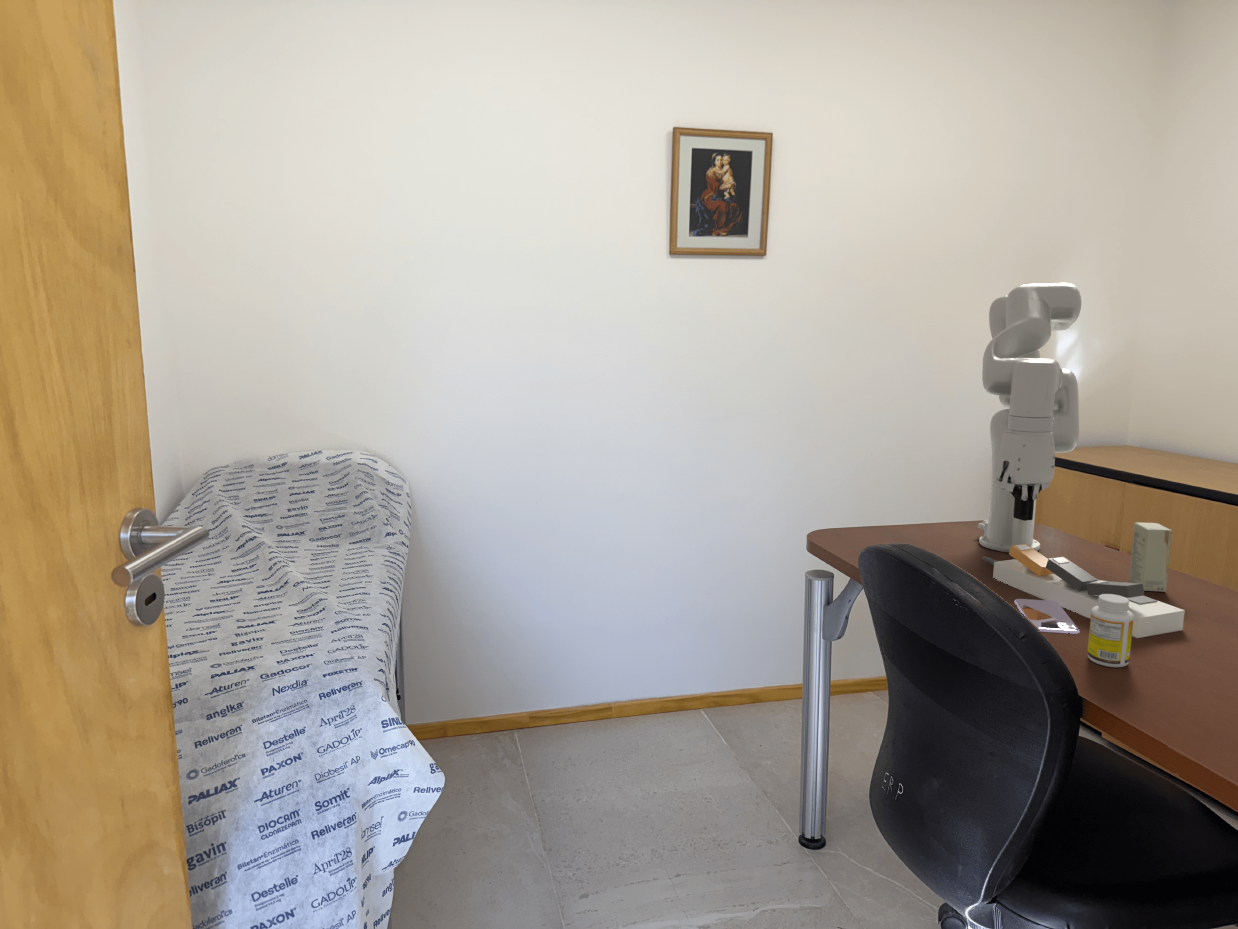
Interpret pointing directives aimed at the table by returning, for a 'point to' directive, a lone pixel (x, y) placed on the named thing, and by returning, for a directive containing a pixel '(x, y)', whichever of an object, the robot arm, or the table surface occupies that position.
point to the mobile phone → (1047, 616)
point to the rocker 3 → (1115, 588)
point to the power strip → (1088, 598)
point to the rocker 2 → (1070, 573)
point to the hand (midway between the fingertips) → (1022, 518)
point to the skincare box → (1150, 556)
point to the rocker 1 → (1030, 559)
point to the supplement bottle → (1110, 631)
